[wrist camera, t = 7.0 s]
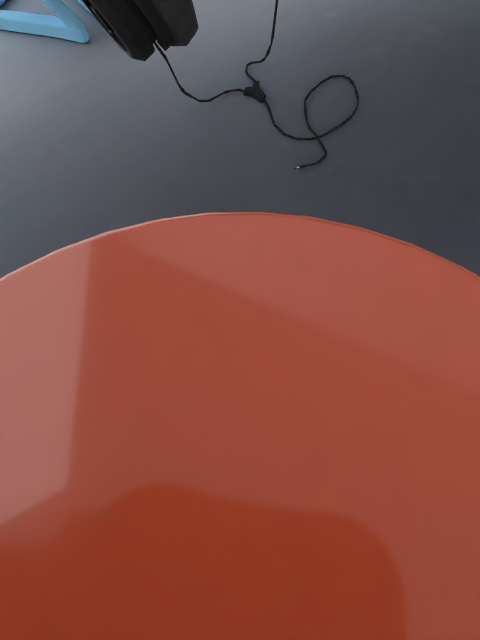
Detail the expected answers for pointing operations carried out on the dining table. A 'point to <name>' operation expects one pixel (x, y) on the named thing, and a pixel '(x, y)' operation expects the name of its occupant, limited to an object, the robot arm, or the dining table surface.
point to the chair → (47, 22)
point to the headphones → (173, 39)
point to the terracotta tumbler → (240, 436)
